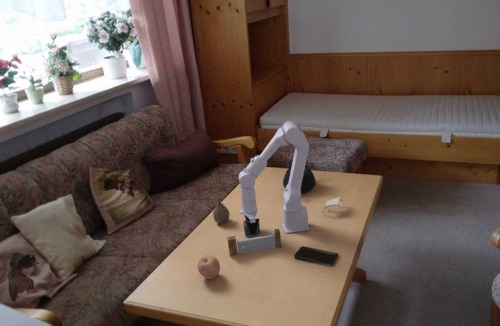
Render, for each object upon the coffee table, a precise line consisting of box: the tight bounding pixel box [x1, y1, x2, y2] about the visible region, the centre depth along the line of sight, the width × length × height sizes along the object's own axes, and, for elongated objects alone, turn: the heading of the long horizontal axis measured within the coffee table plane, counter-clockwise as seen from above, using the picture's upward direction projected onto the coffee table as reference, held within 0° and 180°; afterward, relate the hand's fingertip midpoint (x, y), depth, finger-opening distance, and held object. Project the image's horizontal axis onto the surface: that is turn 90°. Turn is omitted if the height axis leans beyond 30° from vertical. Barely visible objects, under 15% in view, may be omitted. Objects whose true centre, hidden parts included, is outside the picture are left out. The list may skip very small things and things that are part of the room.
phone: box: [293, 245, 340, 268], centre depth 167 cm, size 8×1×15 cm
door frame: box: [226, 228, 282, 257], centre depth 174 cm, size 20×2×7 cm, turn 99°
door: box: [236, 234, 276, 254], centre depth 174 cm, size 14×2×5 cm, turn 99°
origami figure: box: [321, 196, 345, 216], centre depth 197 cm, size 12×8×5 cm
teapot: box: [282, 160, 316, 195], centre depth 220 cm, size 25×16×12 cm, turn 157°
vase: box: [212, 202, 230, 225], centre depth 196 cm, size 7×7×9 cm
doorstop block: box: [242, 220, 261, 237], centre depth 186 cm, size 6×4×5 cm, turn 99°
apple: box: [197, 254, 221, 280], centre depth 161 cm, size 8×8×8 cm
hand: (251, 229), depth 187 cm, fingers open, 7 cm apart
